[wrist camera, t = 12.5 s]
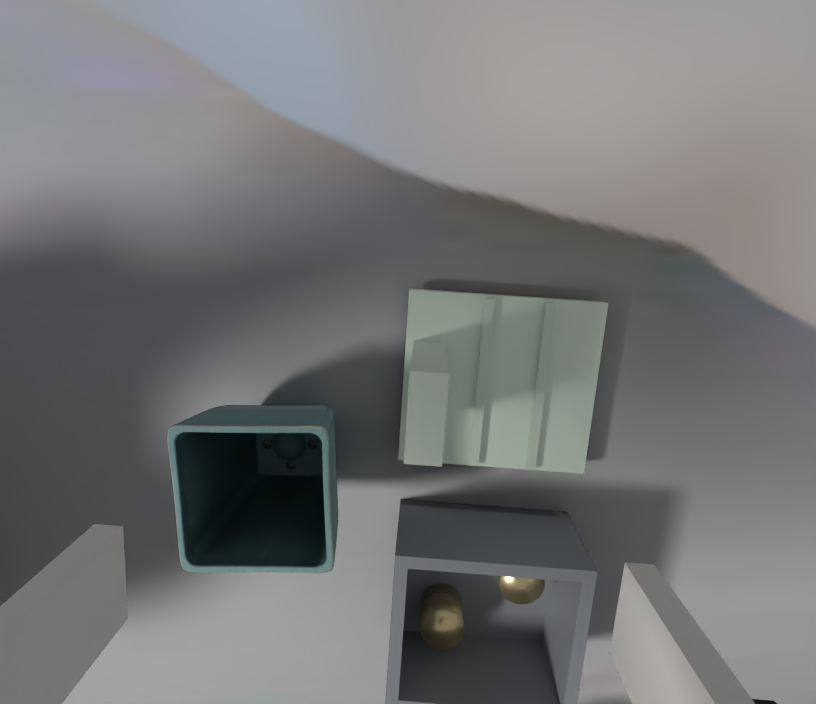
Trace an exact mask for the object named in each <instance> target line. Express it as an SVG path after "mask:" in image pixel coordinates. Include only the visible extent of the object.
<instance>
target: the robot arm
mask: <svg viewBox="0 0 816 704" xmlns="http://www.w3.org/2000/svg"><path fill="white" fill-rule="evenodd" d="M127 618H128V614H127V593H126V573H125V552H124V531H123V526H113V525H100V524H94V525H93V526H91V527H90V528H89V529H88V530H87V531H86V532H85V533H83V534H82V535H81V536H80V537H79V538H78V539H77V540H75V541H74V542H73V543H72V544H71V545H70V546H68V547H67V548H66V549H65V550H64V551H63V552H62V553H60V554H59V555H58V556H57V557H56V558H55V559H54V560H52V561H51V562H50V563H49V564H48V565H47V566H46V567H44V568H43V569H42V570H41V571H40V572H39V573H38V574H36V575H35V576H34V577H33V578H32V579H31V580H29V581H28V582H27V583H26V584H25V585H24V586H23V587H21V588H20V589H19V590H18V591H17V592H16V593H15V594H13V595H12V596H11V597H10V598H9V599H8V600H7V601H5V602H4V603H3V604H2V605H1V606H0V704H62V703H63V701H64V700H65V699H66V697H67V696H68V695H69V693H70V692H71V691H72V690H73V688H74V687H75V686H76V684H77V683H78V682H79V681H80V679H81V678H82V677H83V675H84V674H85V673H86V671H87V670H88V669H89V668H90V666H91V665H92V664H93V662H94V661H95V660H96V659H97V657H98V656H99V655H100V653H101V652H102V651H103V649H104V648H105V647H106V646H107V644H108V643H109V642H110V640H111V639H112V638H113V637H114V635H115V634H116V633H117V631H118V630H119V629H120V627H121V626H122V625H123V624H124V622H125V621H126V620H127ZM609 654H610V656H611V658H612V660H613V662H614V665H615V667H616V669H617V671H618V673H619V675H620V678H621V680H622V682H623V684H624V686H625V688H626V691H627V693H628V695H629V697H630V699H631V701H632V704H777V703H776V702H774V701H769V700H756V699H751V697H750V696H749V694H748V693H747V692H746V690H745V689H744V688H743V686H742V685H741V683H740V682H739V681H738V679H737V678H736V677H735V675H734V674H733V672H732V671H731V670H730V668H729V667H728V665H727V664H726V663H725V661H724V660H723V659H722V657H721V656H720V654H719V653H718V652H717V650H716V649H715V648H714V646H713V645H712V643H711V642H710V641H709V639H708V638H707V637H706V635H705V634H704V632H703V631H702V630H701V628H700V627H699V626H698V624H697V623H696V621H695V620H694V619H693V617H692V616H691V615H690V613H689V612H688V610H687V609H686V608H685V606H684V605H683V603H682V602H681V601H680V599H679V598H678V597H677V595H676V594H675V592H674V591H673V590H672V588H671V587H670V586H669V584H668V583H667V581H666V580H665V579H664V577H663V576H662V575H661V573H660V572H659V570H658V569H657V568H656V566H655V565H653V564H639V563H625V564H624V570H623V576H622V582H621V588H620V594H619V600H618V606H617V611H616V617H615V623H614V629H613V635H612V641H611V647H610V653H609Z"/></svg>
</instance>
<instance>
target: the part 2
mask: <svg viewBox="0 0 816 704" xmlns="http://www.w3.org/2000/svg"><path fill="white" fill-rule="evenodd" d="M497 577H498V582H499V587H500V591H501V593H502V595H503V596H504V597H505V598H506V599H507V600H508V601H510V602H512V603H515V604H529V603H532V602H534V601H535V600H537V599H538V598H539V597H540V596H541V595H542V593H543V591H544V588H545V580H544V579H532V578H519V577H507V576H497Z"/></svg>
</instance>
